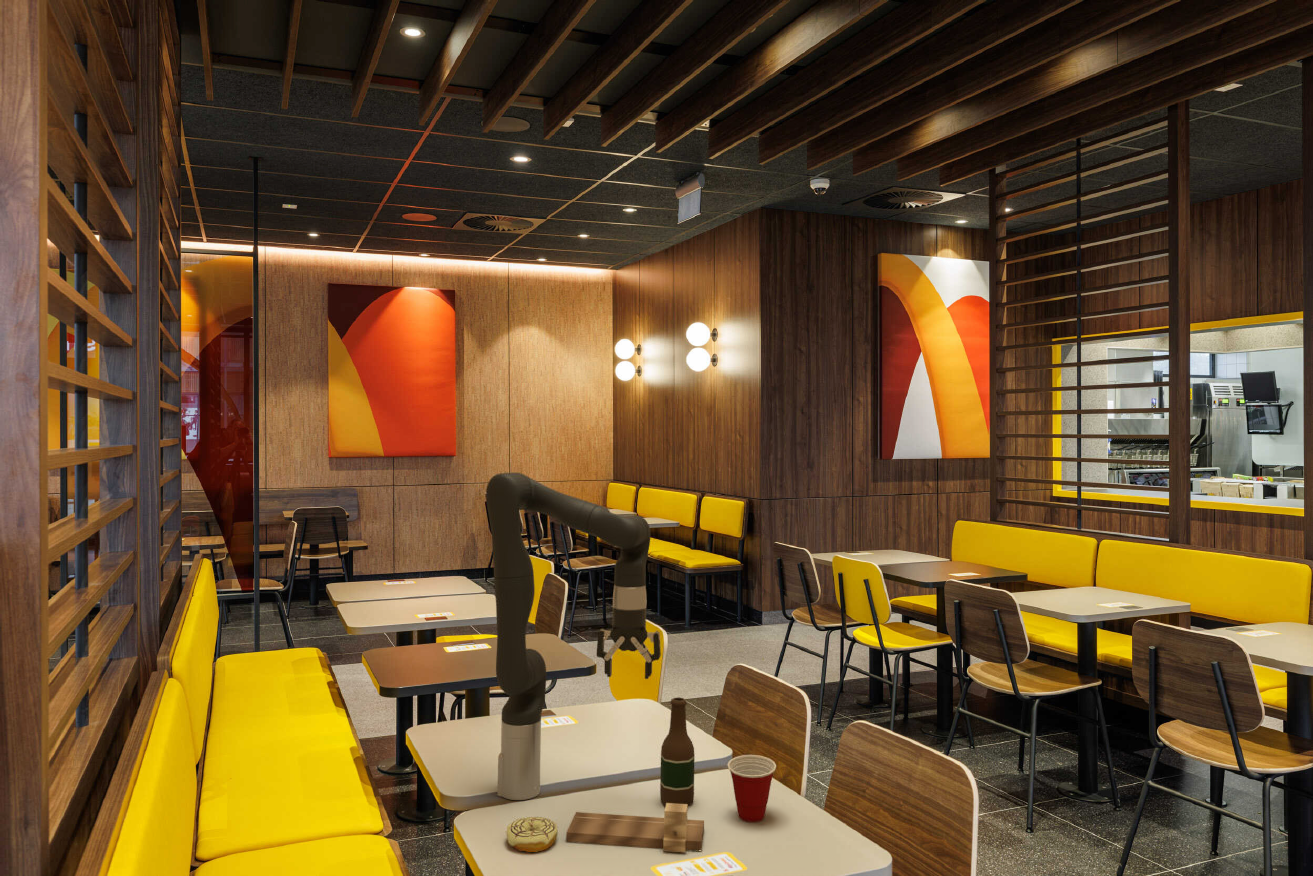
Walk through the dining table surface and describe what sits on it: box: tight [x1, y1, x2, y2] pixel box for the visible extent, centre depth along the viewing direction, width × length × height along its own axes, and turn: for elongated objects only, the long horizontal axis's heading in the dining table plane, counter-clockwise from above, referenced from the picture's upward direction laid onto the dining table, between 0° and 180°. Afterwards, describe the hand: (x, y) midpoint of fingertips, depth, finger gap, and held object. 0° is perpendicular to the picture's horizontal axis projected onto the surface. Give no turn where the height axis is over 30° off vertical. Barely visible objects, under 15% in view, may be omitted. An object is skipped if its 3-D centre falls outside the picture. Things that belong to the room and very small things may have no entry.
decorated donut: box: [505, 816, 559, 853], centre depth 184 cm, size 10×11×4 cm
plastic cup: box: [727, 754, 777, 823], centre depth 198 cm, size 11×11×12 cm
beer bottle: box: [659, 697, 695, 808], centre depth 205 cm, size 8×8×24 cm
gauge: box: [663, 803, 689, 853], centre depth 185 cm, size 4×10×8 cm, turn 174°
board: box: [565, 811, 705, 851], centre depth 187 cm, size 28×10×2 cm, turn 84°
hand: (628, 677), depth 200 cm, fingers open, 8 cm apart
